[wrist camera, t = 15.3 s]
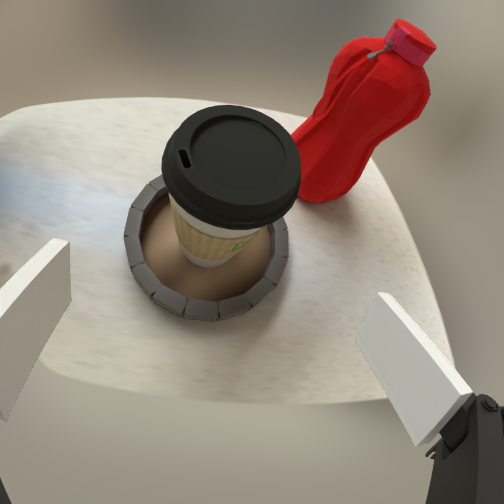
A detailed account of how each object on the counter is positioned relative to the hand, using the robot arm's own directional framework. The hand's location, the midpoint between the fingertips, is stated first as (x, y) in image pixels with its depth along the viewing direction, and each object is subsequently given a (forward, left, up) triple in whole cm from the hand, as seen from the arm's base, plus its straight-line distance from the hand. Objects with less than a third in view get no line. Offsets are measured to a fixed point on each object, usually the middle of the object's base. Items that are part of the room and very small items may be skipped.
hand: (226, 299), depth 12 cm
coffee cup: (-3, +10, -18) cm, 21 cm away
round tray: (-3, +10, -19) cm, 22 cm away
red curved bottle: (+4, +25, -19) cm, 32 cm away
